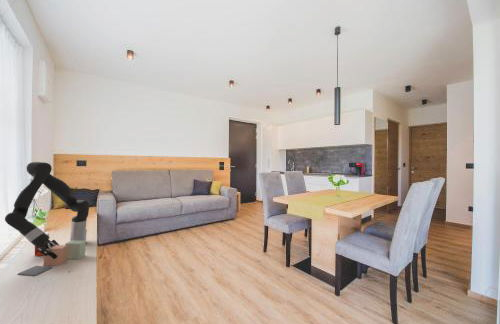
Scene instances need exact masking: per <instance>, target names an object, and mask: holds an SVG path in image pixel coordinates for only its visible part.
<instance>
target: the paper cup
mask: <svg viewBox="0 0 500 324" xmlns="http://www.w3.org/2000/svg"><path fill="white" fill-rule="evenodd" d="M43 232H44V233H45V234H47V235H48V236H49V237H50V235H51V234H50V232H49V231H43ZM39 248H40V247H39V246H38V247H36V246H34V257H41V256H42V257H43V256H44V255H43V254H42V253H40V252H39V251H37V250H38V249H39ZM42 251H43V250H42Z"/></svg>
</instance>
